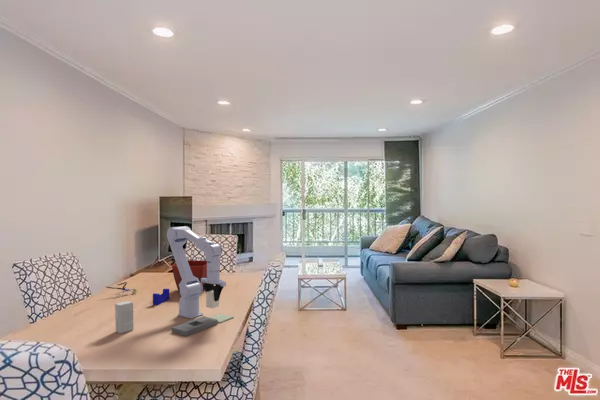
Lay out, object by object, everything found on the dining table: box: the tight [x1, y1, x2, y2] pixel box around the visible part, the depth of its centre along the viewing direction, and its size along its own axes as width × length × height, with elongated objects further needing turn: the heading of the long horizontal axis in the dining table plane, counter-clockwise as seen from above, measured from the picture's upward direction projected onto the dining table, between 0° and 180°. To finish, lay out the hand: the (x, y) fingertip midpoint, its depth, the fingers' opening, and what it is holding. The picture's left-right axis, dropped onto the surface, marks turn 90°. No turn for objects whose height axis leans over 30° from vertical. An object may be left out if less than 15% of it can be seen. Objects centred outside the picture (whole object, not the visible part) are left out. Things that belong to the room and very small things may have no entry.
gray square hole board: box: [171, 315, 219, 337], centre depth 170 cm, size 9×18×2 cm, turn 147°
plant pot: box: [171, 259, 207, 293], centre depth 236 cm, size 19×19×17 cm
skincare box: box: [114, 300, 134, 334], centre depth 167 cm, size 6×4×12 cm
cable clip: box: [152, 288, 170, 306], centre depth 211 cm, size 12×4×6 cm, turn 171°
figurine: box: [105, 281, 142, 298], centre depth 224 cm, size 10×9×20 cm
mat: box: [208, 313, 235, 324], centre depth 183 cm, size 9×9×1 cm
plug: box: [205, 290, 220, 309], centre depth 179 cm, size 4×4×7 cm
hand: (213, 299), depth 179 cm, fingers closed on plug, 4 cm apart
